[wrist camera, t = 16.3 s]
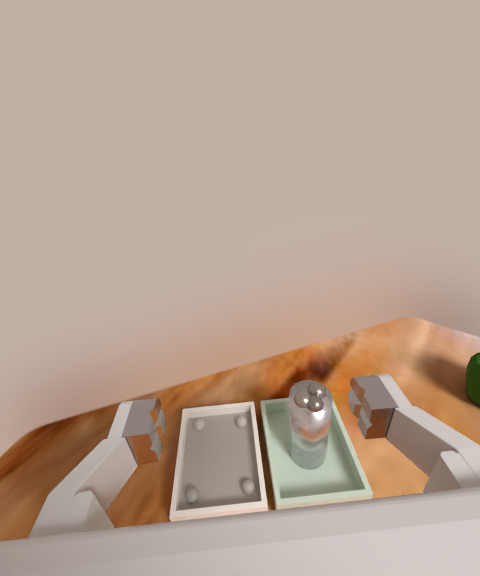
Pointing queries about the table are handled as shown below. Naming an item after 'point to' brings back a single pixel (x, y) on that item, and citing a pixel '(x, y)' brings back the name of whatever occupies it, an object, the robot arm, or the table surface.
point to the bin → (319, 482)
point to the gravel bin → (218, 463)
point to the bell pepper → (473, 379)
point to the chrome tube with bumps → (309, 423)
